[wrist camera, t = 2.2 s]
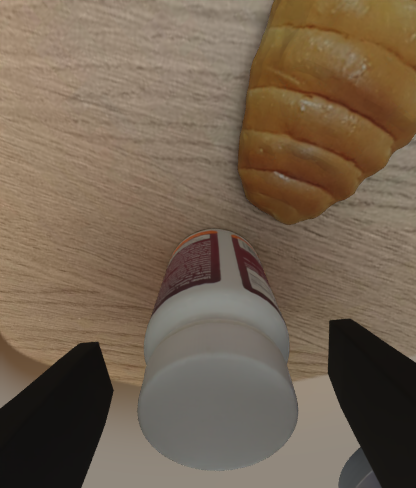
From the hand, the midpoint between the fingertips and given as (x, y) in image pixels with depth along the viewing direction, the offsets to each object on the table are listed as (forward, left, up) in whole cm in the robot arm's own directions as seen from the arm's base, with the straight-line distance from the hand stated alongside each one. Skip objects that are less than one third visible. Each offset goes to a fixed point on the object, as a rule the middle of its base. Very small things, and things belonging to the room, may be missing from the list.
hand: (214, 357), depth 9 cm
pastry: (+7, -6, -7) cm, 11 cm away
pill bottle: (0, 0, -7) cm, 7 cm away
